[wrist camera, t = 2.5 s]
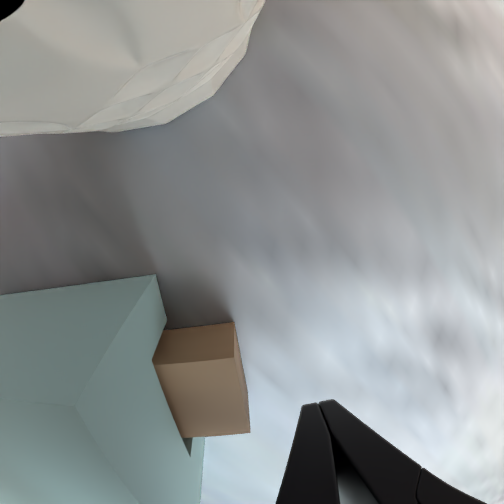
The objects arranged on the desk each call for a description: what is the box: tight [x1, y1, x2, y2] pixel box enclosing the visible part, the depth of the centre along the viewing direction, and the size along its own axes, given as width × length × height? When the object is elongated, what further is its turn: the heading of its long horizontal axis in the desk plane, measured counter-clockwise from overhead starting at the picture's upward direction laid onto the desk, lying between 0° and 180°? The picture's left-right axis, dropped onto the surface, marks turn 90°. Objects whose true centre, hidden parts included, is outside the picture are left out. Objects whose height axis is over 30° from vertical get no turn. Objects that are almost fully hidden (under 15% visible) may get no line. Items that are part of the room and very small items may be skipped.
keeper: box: [0, 274, 205, 504], centre depth 7 cm, size 7×7×6 cm
